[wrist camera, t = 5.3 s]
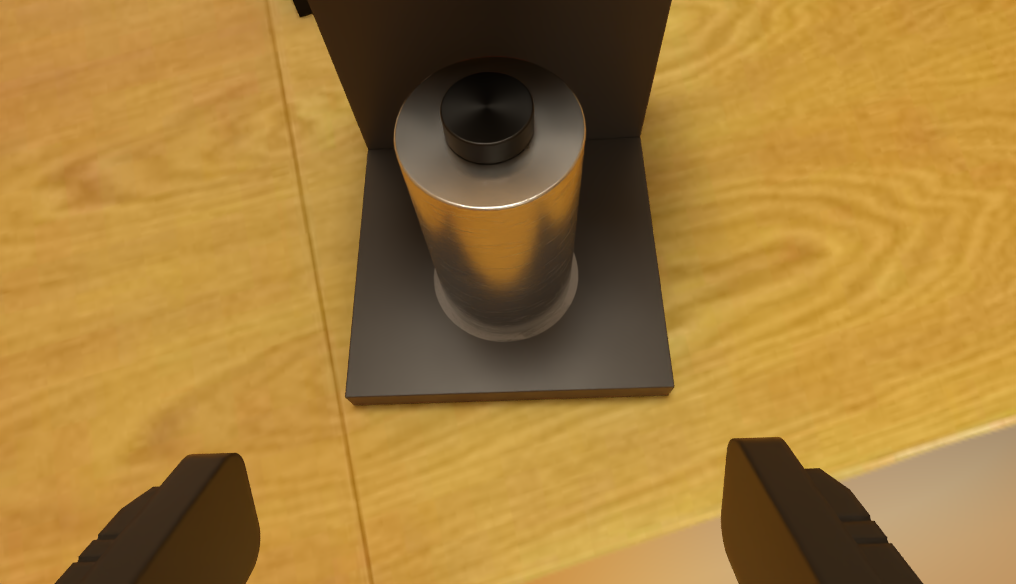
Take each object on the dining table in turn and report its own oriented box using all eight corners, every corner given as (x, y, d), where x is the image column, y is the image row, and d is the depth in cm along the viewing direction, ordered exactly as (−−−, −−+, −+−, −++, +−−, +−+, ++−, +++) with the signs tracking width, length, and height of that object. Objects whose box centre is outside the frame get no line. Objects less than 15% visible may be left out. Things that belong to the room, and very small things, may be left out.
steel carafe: (577, 225, 31) (597, 39, 20) (562, 342, 29) (576, 202, 18) (454, 211, 32) (410, 25, 21) (429, 325, 29) (364, 179, 18)
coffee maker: (668, 395, 29) (886, 98, 11) (353, 405, 29) (53, 137, 11) (627, 85, 37) (713, -389, 19) (379, 98, 37) (228, -352, 19)
